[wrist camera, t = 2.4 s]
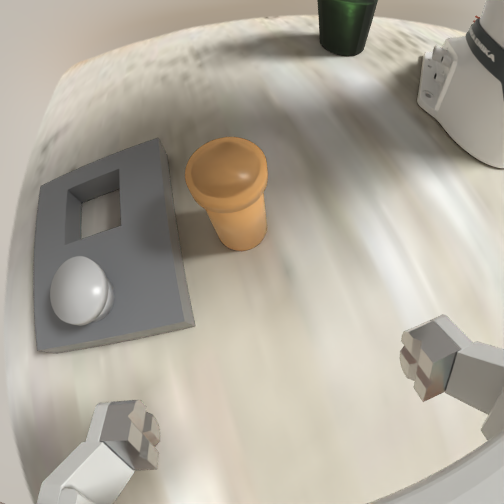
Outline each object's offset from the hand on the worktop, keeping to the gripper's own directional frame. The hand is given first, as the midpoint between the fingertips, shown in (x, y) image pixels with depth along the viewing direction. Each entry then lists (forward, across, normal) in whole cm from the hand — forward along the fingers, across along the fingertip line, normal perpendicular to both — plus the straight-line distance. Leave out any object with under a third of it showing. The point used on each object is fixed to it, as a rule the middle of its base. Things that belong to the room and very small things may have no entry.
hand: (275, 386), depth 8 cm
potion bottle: (+38, -21, -16) cm, 46 cm away
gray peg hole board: (+21, +13, +1) cm, 25 cm away
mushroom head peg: (+20, 0, +2) cm, 20 cm away
